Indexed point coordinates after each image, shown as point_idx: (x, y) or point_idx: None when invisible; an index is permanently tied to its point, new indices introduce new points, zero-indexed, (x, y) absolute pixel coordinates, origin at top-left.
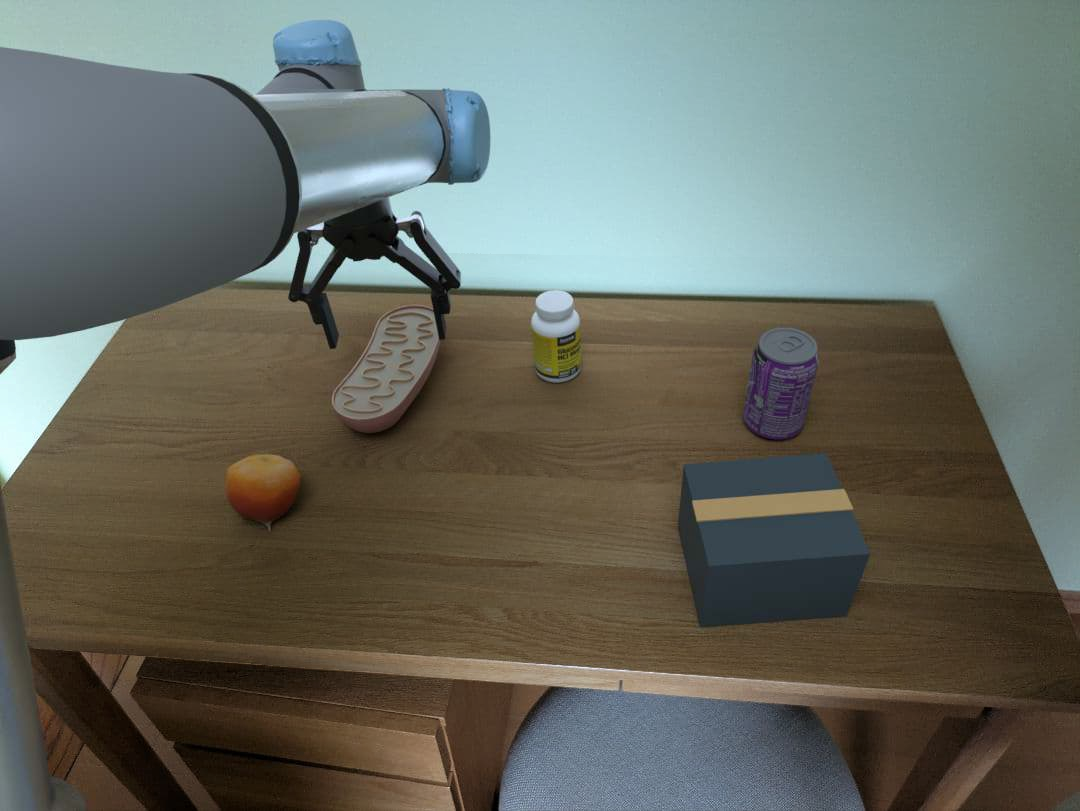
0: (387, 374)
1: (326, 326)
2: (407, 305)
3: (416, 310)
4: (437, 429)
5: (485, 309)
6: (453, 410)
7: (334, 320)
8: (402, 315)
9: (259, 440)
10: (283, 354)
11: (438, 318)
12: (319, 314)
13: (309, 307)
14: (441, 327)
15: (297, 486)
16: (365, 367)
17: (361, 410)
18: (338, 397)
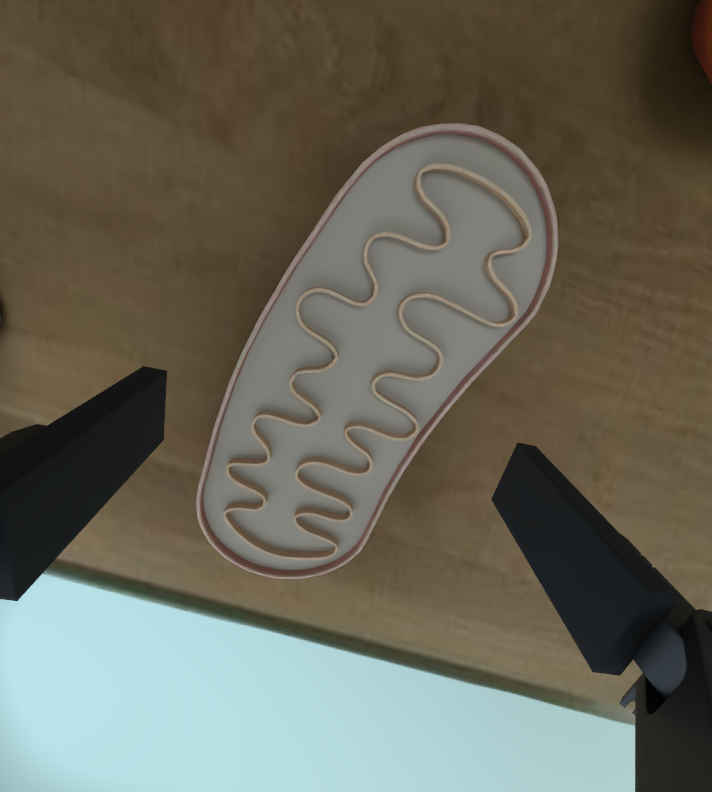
0: (371, 343)
1: (579, 503)
2: (283, 578)
3: (264, 559)
4: (274, 171)
5: (137, 543)
6: (226, 234)
7: (517, 541)
8: (300, 552)
9: (680, 295)
10: None
11: (92, 409)
12: (638, 554)
13: (687, 602)
14: (116, 387)
15: None
16: (425, 394)
17: (483, 179)
18: (527, 288)
